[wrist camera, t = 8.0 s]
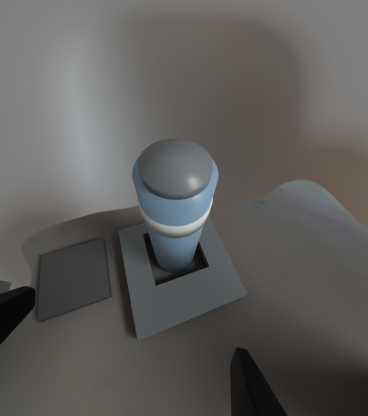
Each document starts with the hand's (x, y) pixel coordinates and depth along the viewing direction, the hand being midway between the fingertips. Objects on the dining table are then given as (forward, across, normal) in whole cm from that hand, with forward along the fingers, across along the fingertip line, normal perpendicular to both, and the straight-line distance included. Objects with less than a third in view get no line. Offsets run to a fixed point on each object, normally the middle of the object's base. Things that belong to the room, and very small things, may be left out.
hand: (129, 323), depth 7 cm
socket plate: (+14, -1, +5) cm, 15 cm away
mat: (+11, +10, +8) cm, 17 cm away
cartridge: (+15, 0, +4) cm, 15 cm away
